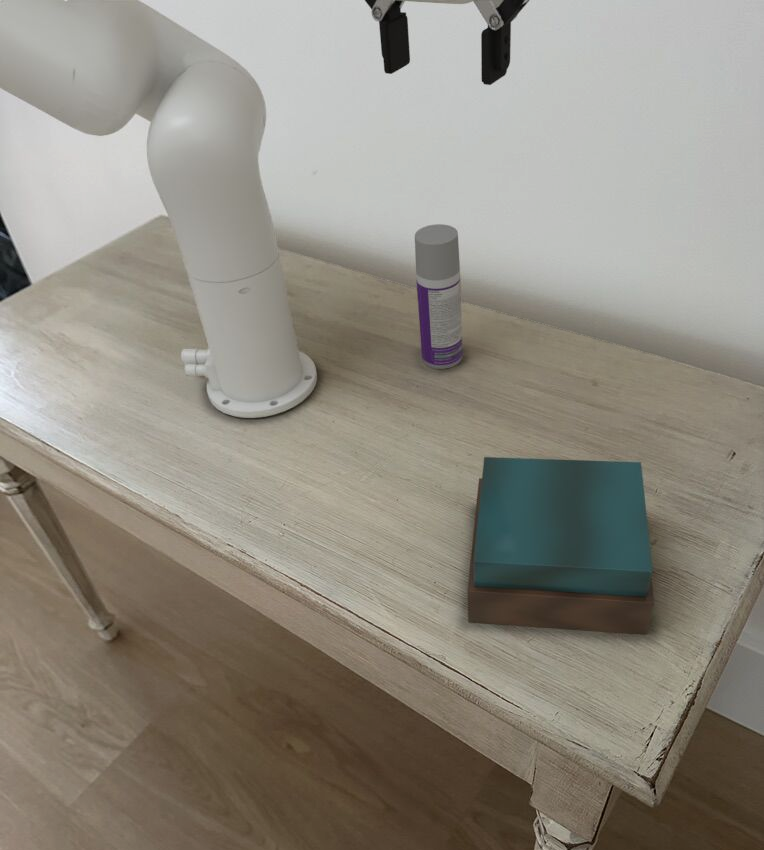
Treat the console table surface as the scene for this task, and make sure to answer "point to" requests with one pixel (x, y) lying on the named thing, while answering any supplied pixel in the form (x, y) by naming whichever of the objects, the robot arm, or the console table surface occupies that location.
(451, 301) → the container
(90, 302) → the console table surface
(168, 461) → the console table surface
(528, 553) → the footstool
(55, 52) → the robot arm
